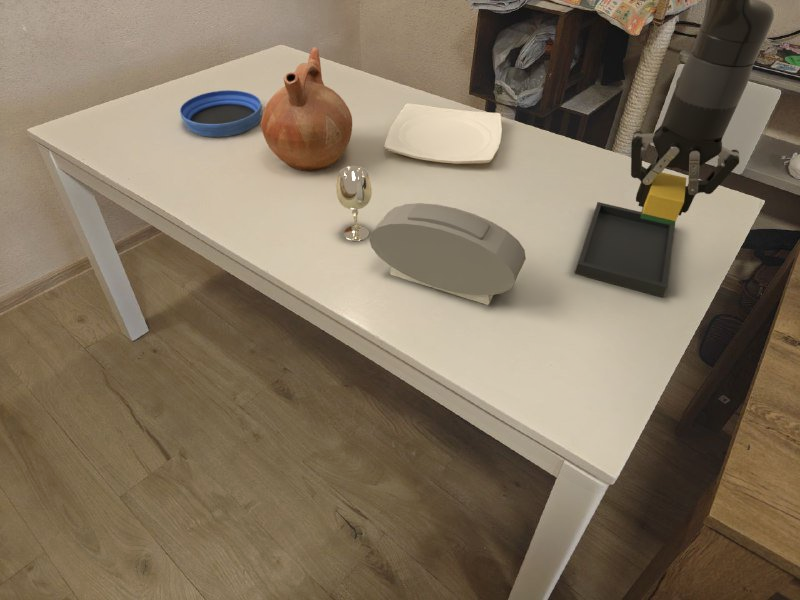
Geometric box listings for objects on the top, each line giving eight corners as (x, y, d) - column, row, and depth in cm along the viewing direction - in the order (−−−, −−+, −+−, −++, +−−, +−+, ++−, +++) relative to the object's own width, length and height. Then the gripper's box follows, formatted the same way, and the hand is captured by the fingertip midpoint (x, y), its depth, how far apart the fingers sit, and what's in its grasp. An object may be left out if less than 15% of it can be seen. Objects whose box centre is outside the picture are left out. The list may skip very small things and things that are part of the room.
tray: (594, 211, 102) (597, 201, 100) (671, 229, 98) (675, 219, 96) (574, 273, 89) (577, 263, 87) (662, 297, 85) (667, 287, 83)
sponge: (645, 193, 83) (654, 170, 80) (676, 200, 82) (686, 177, 79) (640, 218, 78) (649, 194, 75) (673, 226, 77) (684, 202, 74)
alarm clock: (519, 289, 86) (534, 222, 77) (508, 314, 82) (522, 246, 73) (386, 250, 93) (386, 184, 84) (370, 271, 89) (367, 204, 80)
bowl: (205, 101, 135) (202, 86, 132) (274, 108, 132) (272, 93, 130) (168, 134, 122) (164, 119, 119) (244, 143, 119) (241, 127, 117)
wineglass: (354, 220, 99) (350, 160, 91) (379, 231, 96) (378, 171, 88) (333, 235, 95) (327, 174, 87) (358, 247, 93) (355, 186, 85)
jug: (289, 131, 123) (277, 38, 110) (365, 143, 120) (362, 48, 106) (252, 172, 110) (232, 72, 97) (336, 186, 107) (328, 84, 93)
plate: (494, 175, 111) (496, 163, 109) (377, 160, 114) (377, 148, 113) (504, 122, 128) (506, 111, 126) (402, 111, 132) (403, 100, 130)
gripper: (644, 94, 67) (605, 209, 79) (772, 116, 63) (711, 234, 75) (650, 73, 72) (612, 184, 84) (768, 92, 69) (712, 206, 80)
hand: (659, 207), depth 80 cm, fingers closed on sponge, 4 cm apart
